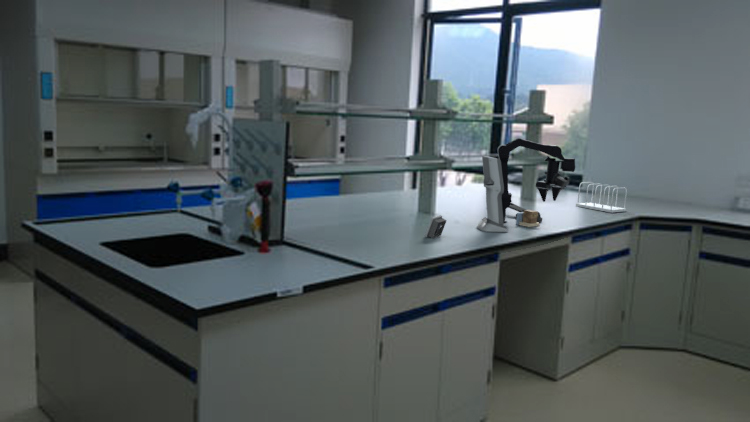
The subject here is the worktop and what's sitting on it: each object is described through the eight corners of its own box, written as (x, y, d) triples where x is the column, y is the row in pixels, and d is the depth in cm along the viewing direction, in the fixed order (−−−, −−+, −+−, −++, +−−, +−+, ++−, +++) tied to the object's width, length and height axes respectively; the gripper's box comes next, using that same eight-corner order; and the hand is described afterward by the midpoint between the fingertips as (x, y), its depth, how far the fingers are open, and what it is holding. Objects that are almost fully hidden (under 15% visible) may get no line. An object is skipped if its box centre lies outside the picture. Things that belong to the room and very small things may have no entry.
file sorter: (626, 211, 375) (629, 187, 372) (611, 213, 364) (614, 188, 361) (590, 205, 394) (593, 181, 391) (575, 206, 383) (578, 182, 380)
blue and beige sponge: (540, 225, 307) (541, 214, 306) (527, 227, 300) (528, 215, 299) (528, 222, 313) (530, 211, 312) (515, 224, 306) (517, 212, 305)
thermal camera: (473, 226, 292) (480, 155, 286) (498, 227, 295) (505, 156, 289) (483, 232, 281) (490, 157, 275) (508, 232, 284) (516, 158, 278)
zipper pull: (510, 202, 337) (546, 210, 317) (509, 213, 338) (544, 222, 318) (499, 202, 332) (534, 210, 312) (498, 214, 333) (533, 223, 313)
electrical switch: (434, 234, 270) (437, 214, 267) (444, 237, 267) (448, 217, 265) (424, 237, 262) (427, 216, 260) (434, 240, 259) (438, 219, 257)
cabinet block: (538, 223, 305) (539, 211, 304) (532, 224, 302) (533, 212, 301) (528, 221, 309) (529, 209, 308) (522, 221, 306) (523, 210, 305)
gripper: (556, 173, 290) (552, 204, 292) (577, 172, 302) (573, 202, 304) (536, 170, 298) (533, 201, 301) (557, 169, 310) (554, 199, 313)
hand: (549, 201), depth 304 cm, fingers open, 9 cm apart
